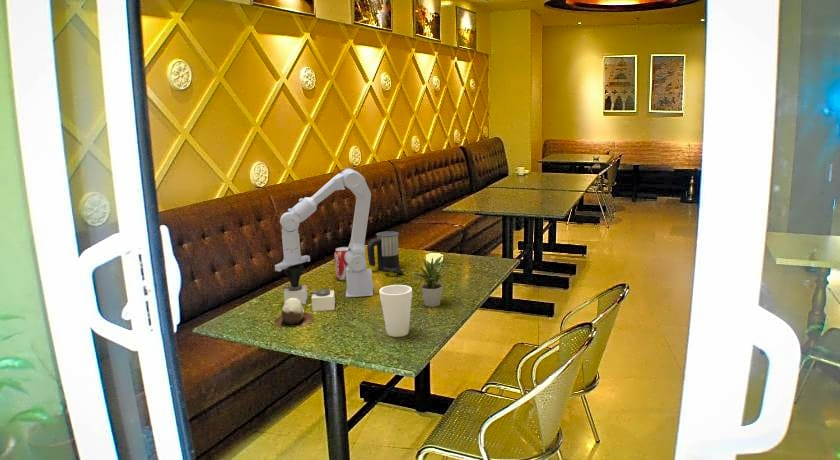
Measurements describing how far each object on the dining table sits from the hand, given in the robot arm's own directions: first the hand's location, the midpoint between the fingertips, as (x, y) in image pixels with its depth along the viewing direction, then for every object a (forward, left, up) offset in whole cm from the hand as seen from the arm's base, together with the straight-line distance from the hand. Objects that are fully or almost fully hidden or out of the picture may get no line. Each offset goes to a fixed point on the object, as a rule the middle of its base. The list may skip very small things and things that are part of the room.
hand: (294, 286), depth 195 cm
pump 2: (-9, +8, -4) cm, 13 cm away
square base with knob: (0, 0, -5) cm, 5 cm away
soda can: (-16, -24, -6) cm, 29 cm away
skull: (-2, +19, -6) cm, 20 cm away
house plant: (-46, +11, -6) cm, 48 cm away
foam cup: (-33, +35, -6) cm, 48 cm away
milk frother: (-35, -31, -6) cm, 46 cm away
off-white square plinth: (-10, +8, -5) cm, 14 cm away
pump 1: (+1, 0, -4) cm, 5 cm away
